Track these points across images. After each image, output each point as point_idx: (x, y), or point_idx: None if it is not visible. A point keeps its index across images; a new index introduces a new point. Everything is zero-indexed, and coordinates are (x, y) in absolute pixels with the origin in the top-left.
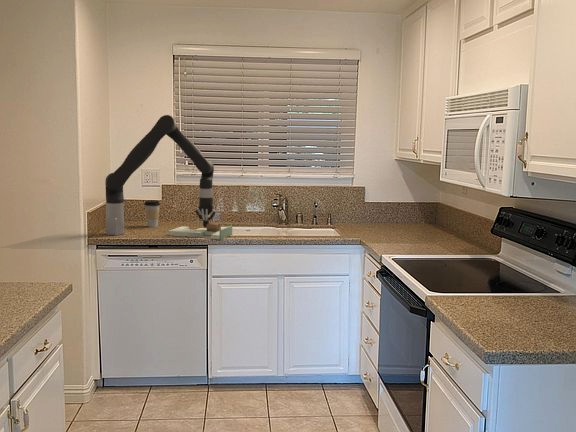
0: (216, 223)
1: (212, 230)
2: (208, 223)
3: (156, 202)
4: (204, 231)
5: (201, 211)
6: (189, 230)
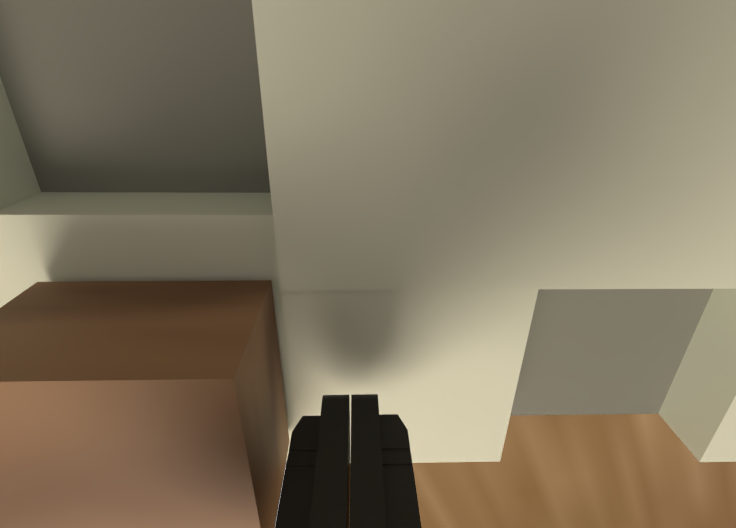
0: (73, 523)
1: (128, 287)
2: (244, 463)
3: None
4: (271, 190)
5: None
6: (639, 152)
